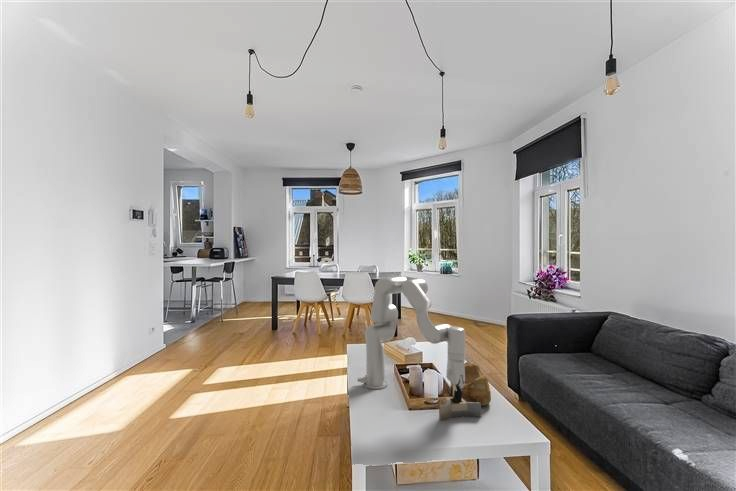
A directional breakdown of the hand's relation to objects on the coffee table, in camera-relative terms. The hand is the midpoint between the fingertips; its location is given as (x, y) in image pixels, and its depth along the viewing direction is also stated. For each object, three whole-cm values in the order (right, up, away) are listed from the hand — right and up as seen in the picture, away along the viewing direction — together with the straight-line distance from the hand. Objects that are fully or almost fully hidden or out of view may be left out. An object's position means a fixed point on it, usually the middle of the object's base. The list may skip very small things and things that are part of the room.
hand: (456, 397), depth 167 cm
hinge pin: (0, -2, 0) cm, 2 cm away
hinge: (0, -7, 0) cm, 7 cm away
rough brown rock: (+10, -7, +17) cm, 21 cm away
